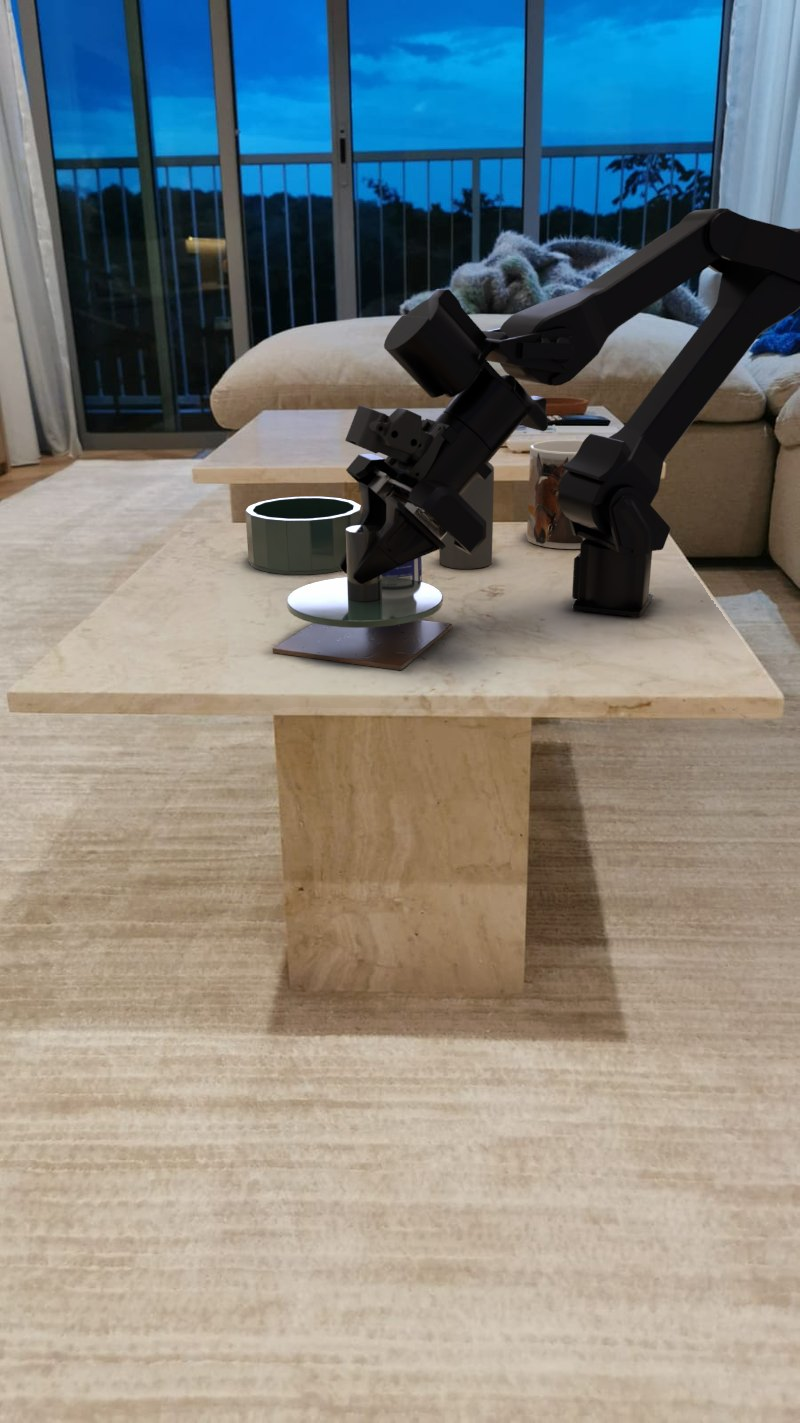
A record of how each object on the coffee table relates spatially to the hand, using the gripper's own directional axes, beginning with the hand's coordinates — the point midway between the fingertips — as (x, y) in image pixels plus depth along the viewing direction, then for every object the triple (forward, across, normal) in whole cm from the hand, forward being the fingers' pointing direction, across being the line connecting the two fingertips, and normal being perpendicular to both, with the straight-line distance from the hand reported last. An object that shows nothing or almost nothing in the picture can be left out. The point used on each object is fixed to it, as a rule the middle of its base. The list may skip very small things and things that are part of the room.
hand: (349, 575), depth 92 cm
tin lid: (+1, 0, +3) cm, 3 cm away
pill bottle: (-2, -12, +11) cm, 17 cm away
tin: (+1, -29, +8) cm, 30 cm away
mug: (-21, -24, +30) cm, 44 cm away
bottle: (-10, -20, +19) cm, 30 cm away
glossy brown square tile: (+3, 0, +5) cm, 6 cm away
